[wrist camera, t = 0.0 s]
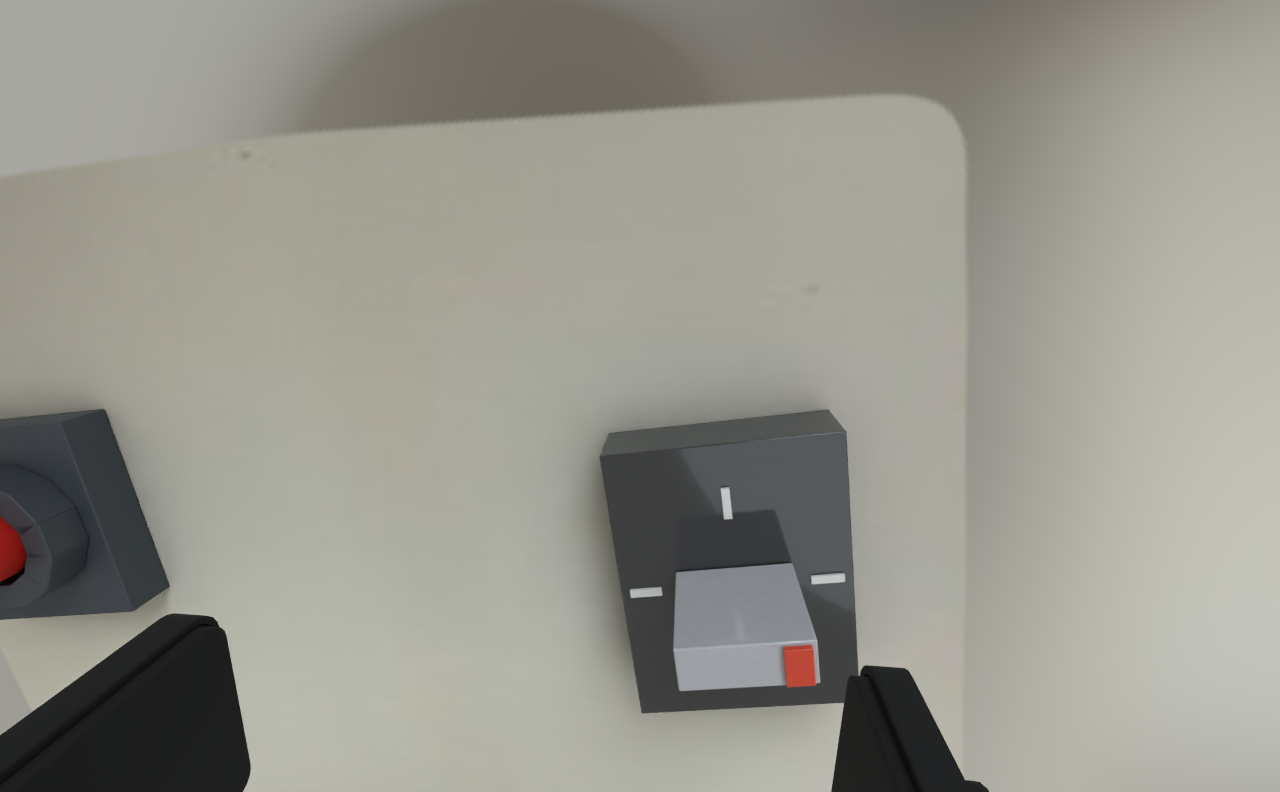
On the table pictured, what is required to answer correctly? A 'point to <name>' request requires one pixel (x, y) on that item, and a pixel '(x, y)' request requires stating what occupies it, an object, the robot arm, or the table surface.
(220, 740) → the robot arm
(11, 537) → the stop button
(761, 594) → the hob knob
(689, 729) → the table surface
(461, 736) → the table surface
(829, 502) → the panel
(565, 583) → the table surface
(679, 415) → the table surface
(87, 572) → the stop block
